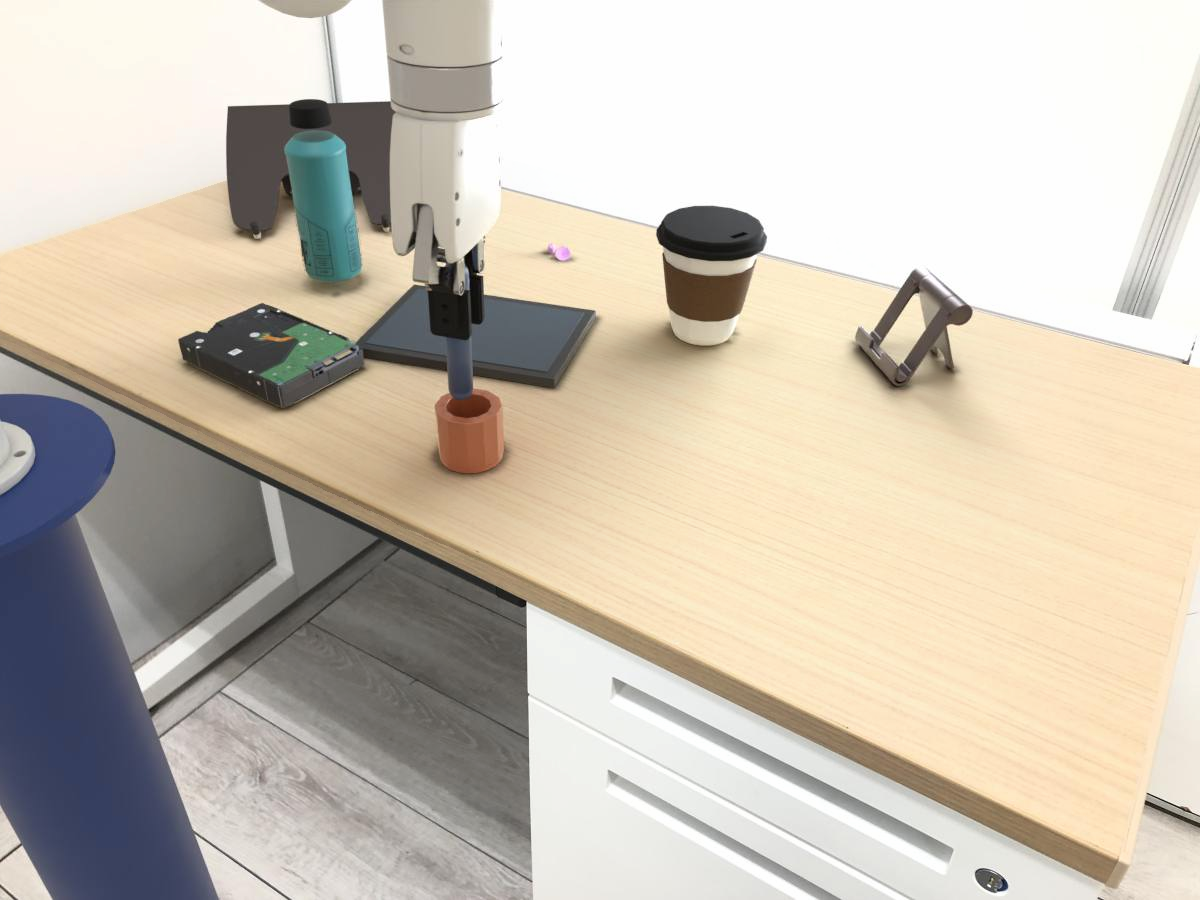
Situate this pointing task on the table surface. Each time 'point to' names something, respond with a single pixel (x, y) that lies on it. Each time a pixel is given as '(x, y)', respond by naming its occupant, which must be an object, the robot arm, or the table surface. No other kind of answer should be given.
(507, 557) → the table surface
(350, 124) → the laptop tray
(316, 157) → the beverage bottle
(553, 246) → the pink pawn
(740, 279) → the coffee cup
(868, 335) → the tablet stand
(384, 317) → the tablet
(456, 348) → the blue rounded rod
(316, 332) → the disk drive
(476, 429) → the pen pot
